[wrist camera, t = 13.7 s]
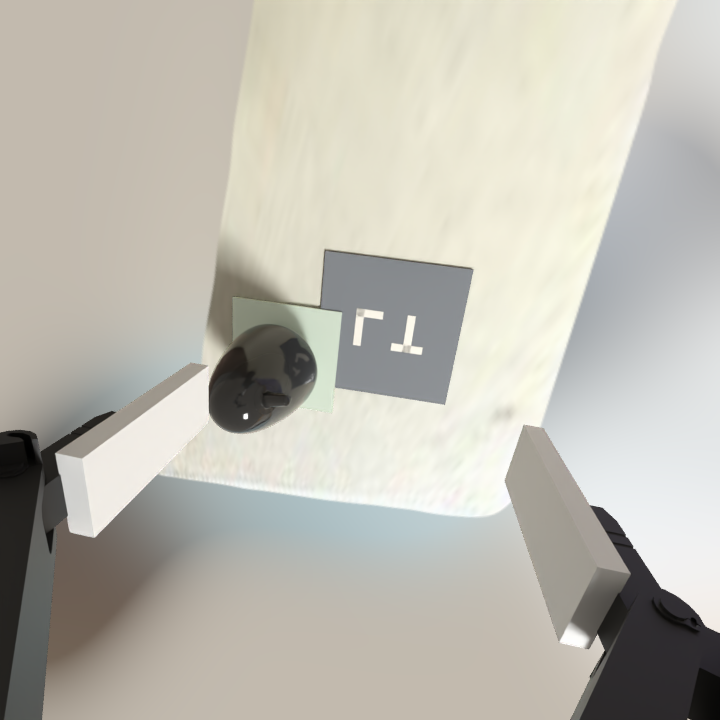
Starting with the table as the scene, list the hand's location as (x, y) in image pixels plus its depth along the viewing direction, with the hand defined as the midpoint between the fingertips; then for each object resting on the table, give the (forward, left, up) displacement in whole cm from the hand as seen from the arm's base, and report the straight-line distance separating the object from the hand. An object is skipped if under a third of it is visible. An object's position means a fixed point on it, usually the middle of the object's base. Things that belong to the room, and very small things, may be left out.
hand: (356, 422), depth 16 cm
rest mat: (+9, -12, -29) cm, 32 cm away
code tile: (+4, 0, -29) cm, 29 cm away
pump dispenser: (+9, -12, -29) cm, 32 cm away
